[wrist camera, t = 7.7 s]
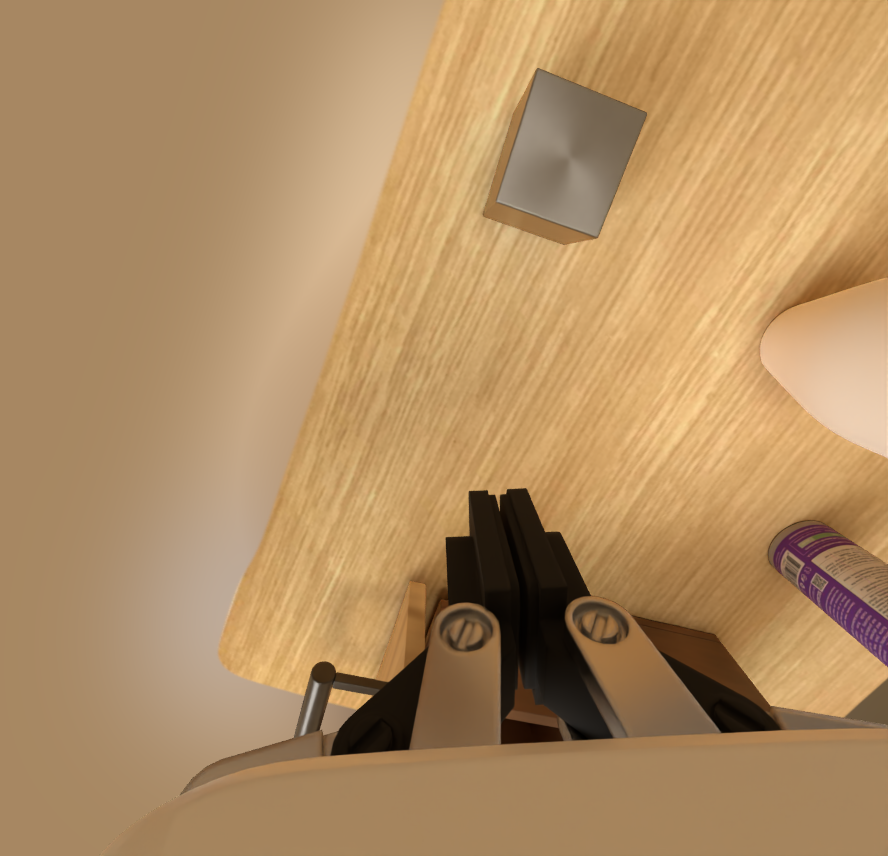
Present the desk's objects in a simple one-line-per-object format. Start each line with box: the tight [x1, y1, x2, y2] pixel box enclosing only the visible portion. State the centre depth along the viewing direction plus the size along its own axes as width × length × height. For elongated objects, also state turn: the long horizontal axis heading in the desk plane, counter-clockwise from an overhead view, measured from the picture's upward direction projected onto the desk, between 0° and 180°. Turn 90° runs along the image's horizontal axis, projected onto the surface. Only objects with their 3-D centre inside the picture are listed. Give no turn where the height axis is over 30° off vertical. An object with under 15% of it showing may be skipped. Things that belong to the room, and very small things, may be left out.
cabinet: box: [632, 616, 771, 712], centre depth 30 cm, size 15×13×10 cm
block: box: [483, 68, 647, 245], centre depth 19 cm, size 5×5×5 cm
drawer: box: [294, 581, 564, 745], centre depth 28 cm, size 18×11×8 cm, turn 73°
